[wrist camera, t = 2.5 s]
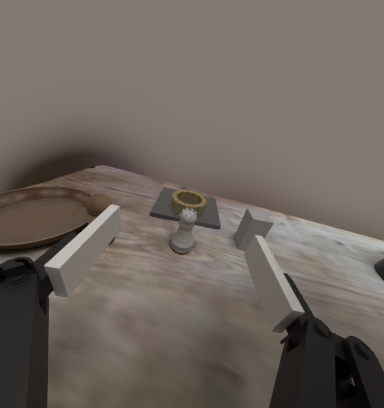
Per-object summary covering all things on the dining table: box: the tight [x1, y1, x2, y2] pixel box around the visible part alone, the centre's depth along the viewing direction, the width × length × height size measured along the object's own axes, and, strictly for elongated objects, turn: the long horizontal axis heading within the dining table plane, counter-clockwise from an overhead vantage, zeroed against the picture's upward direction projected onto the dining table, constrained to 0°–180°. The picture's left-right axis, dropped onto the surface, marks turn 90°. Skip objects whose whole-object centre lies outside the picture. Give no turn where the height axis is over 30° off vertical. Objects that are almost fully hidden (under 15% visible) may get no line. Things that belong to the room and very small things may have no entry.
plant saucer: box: [0, 186, 92, 249], centre depth 27 cm, size 18×18×3 cm
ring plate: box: [150, 188, 221, 229], centre depth 41 cm, size 17×15×3 cm
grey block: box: [234, 208, 273, 251], centre depth 31 cm, size 4×4×8 cm
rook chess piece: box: [170, 208, 198, 253], centre depth 27 cm, size 4×4×8 cm
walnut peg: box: [86, 194, 115, 244], centre depth 24 cm, size 4×4×9 cm
